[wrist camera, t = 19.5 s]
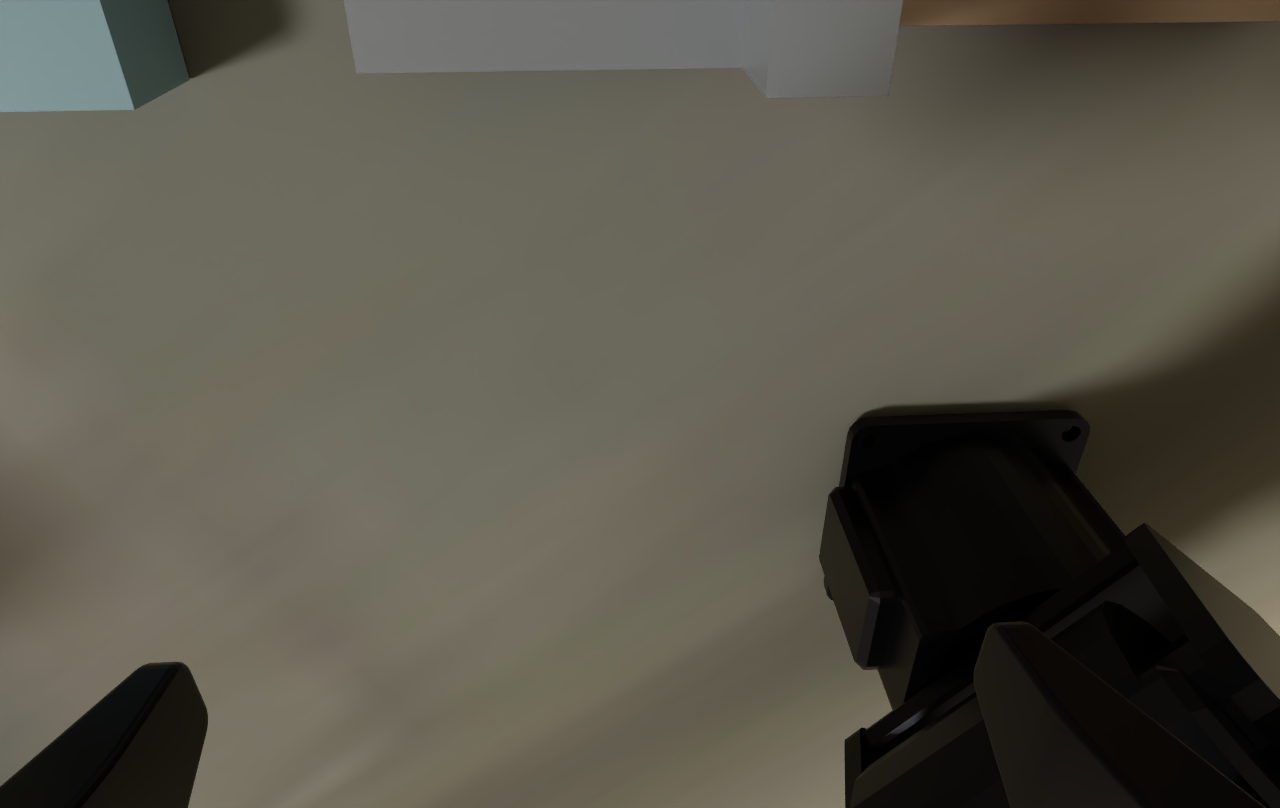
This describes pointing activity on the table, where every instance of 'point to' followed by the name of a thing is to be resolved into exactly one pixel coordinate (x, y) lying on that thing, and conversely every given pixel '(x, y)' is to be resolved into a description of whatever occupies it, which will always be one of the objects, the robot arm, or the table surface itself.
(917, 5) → the plate
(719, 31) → the sliding cover
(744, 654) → the table surface
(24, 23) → the socket board
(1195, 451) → the table surface
